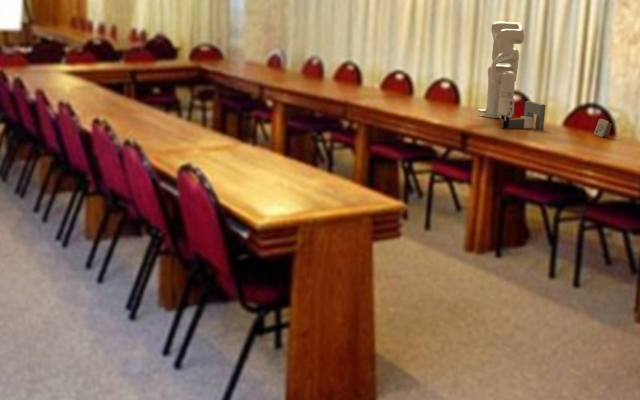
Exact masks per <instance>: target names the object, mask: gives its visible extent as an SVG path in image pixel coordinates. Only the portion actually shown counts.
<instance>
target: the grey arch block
mask: <svg viewBox="0 0 640 400" xmlns="http://www.w3.org/2000/svg"><path fill="white" fill-rule="evenodd" d="M523 113H524V114H523V116H529V117H532V118H533V115H536V117H535V126H534V127H535V128H536V129H535V128H534V129H535V130H539V129H541V130H544V127H545V126H544V125H545V115H546V104H543V103H540V102H535V101H531V100H526V101H524V112H523Z"/></svg>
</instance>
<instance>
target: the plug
mask: <svg viewBox="0 0 640 400" xmlns="http://www.w3.org/2000/svg"><path fill="white" fill-rule="evenodd" d="M533 119H534V118H533V116H532V117H529V116H524V115H523V116H520V117H519V118H510V121H509V128H508V129H532V128H533ZM504 121H505V119H501V122H500V123H499V128H500V129H504V128H503V125H504Z"/></svg>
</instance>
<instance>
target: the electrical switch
mask: <svg viewBox="0 0 640 400" xmlns="http://www.w3.org/2000/svg"><path fill="white" fill-rule="evenodd" d="M612 125H613V123H610V122H609V120H606V119H603V118H599V119H598V122H597V125H596V127H595V129H594V132H593V135H594V136H597V137H600V138H603V137H604V138H608V136H609V133H610V131H611V128H612Z"/></svg>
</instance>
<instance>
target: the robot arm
mask: <svg viewBox="0 0 640 400" xmlns="http://www.w3.org/2000/svg"><path fill="white" fill-rule="evenodd" d="M490 28H491V30H490V31H491V34H492V39H493V43H492V52H491V61H492V62H491V65H490V66H488V68H487V93H486V95H487V97H486V108H483V109H480V108H479V109H478V113H480V114H481V113H483V114H482V115H483V117H485V118H492V119H495V118H497V119H498V118H499V121H500V122H501V119H505V121H504V125H503V128H502V129H510V128H509V121H510V119H513V116H514V115H515V98H514V97H515V85H516V83H515V82H516V81H517V76H518V67H519V60H520V58H519V57H520V53H519V50H518V49H517V48H515V47H514V46H515V45H522V44H523V43H524V41H525V31H524V28H523V25H522V23H520V22H513V21H511V22H509V21H508V22H507V21H495V22H493V23H492V24H491V27H490ZM507 64H508V65H507Z"/></svg>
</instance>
